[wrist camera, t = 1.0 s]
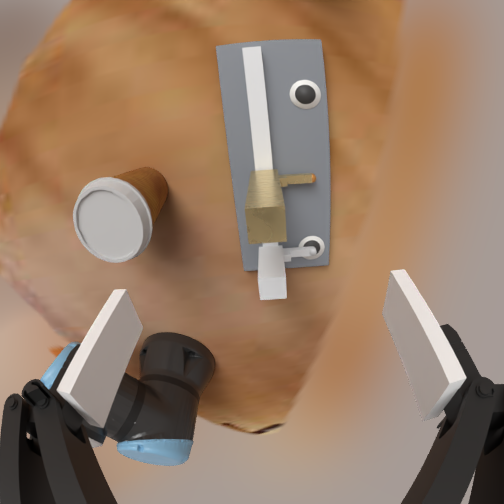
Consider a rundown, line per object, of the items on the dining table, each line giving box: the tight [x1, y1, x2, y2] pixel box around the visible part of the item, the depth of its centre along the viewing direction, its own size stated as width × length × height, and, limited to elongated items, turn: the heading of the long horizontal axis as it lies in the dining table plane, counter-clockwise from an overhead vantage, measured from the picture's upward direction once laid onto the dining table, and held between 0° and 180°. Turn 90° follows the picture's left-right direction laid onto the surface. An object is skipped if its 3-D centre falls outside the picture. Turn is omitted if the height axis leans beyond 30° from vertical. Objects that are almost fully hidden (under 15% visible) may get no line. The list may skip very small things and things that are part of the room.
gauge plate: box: [216, 39, 330, 300], centre depth 30 cm, size 30×12×10 cm, turn 6°
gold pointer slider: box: [245, 169, 316, 244], centre depth 27 cm, size 3×8×13 cm, turn 96°
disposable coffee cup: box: [73, 167, 168, 263], centre depth 31 cm, size 10×10×12 cm
